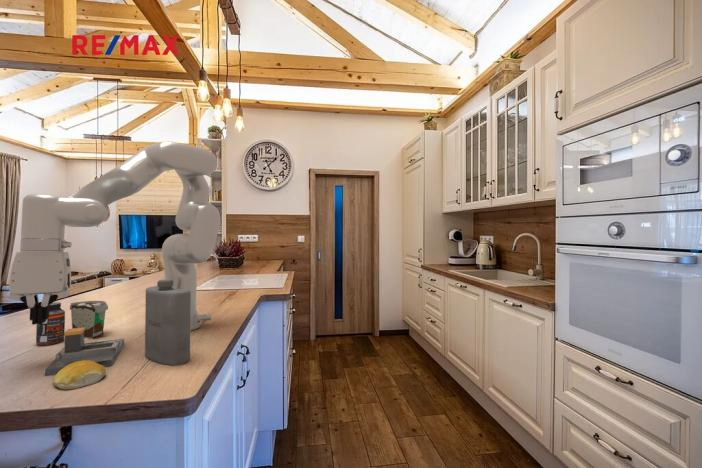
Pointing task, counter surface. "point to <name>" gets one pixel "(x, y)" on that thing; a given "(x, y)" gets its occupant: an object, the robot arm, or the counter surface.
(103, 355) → the panel
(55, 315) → the supplement bottle
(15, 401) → the counter surface
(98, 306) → the food container
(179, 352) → the flask
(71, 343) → the lever
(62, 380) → the bread roll
